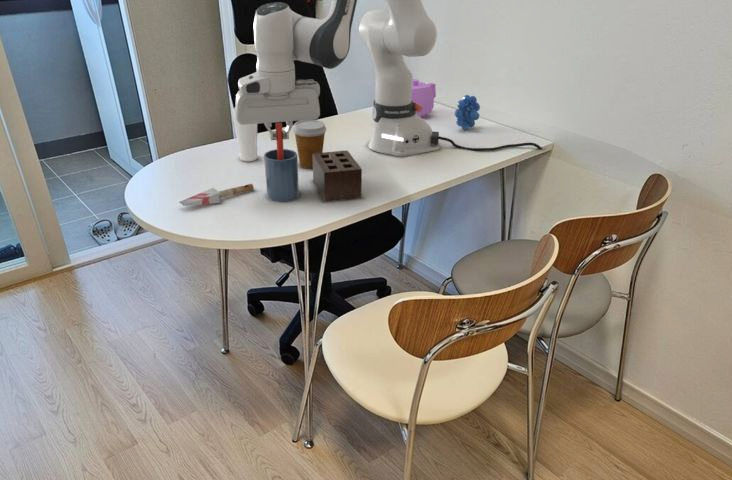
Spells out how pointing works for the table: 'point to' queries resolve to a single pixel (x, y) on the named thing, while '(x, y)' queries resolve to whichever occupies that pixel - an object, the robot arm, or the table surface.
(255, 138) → the drinking glass
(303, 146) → the disposable coffee cup
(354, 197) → the caddy
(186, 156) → the table surface
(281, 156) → the straw
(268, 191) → the tumbler
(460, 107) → the grapes
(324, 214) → the table surface
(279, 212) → the table surface
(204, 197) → the grey and wooden tool
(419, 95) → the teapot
